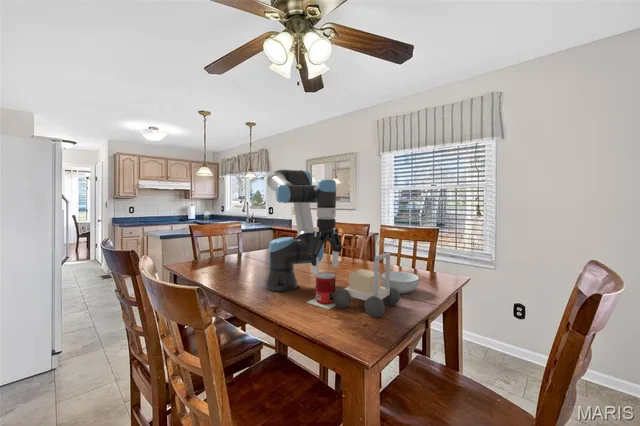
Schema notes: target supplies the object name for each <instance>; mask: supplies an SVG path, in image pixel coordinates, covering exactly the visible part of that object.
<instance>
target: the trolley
mask: <svg viewBox="0 0 640 426" xmlns="http://www.w3.org/2000/svg"><path fill="white" fill-rule="evenodd" d="M391 256H392V255H391V252H385V253H382V254H380V255H377V256H374V257H373V270H367V269H362V268H361V269H358V270H355V271H352V272H350V273H349V274H348V286H346V287H345V288H339V289H335V292H334V295H333V300H334V302H335V304H336V305H337V306H336V307H338V308H340V309H344V308H346V307H349V305H350V304H351V301H352V298H355V299H359V300H363V301H365V302H364V310H365V312H366V313H367V315H369V317H372V318H374V319H375V318H379V317H380V316H382V315H383V314H384V313H385V310H386V307H385V304H386V305H388V306H390V307H391V306H396V305H397V304H399V302H400V301H401V293H399V291H398V290H397V289H396V288H394V287H390V272H391ZM383 259H385V273H386V282H385V286H381V272H379V267H380V265H379V261H381V260H383Z"/></svg>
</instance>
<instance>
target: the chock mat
mask: <svg viewBox="0 0 640 426" xmlns="http://www.w3.org/2000/svg"><path fill="white" fill-rule="evenodd" d="M306 303H307V304H309V305H312V306H316V307H320V308H322V309H325V310H330V309H332V308H335V307H338V306H337V305H336V304H335V302H334V303H332V304H320V303H318V302H317V301H316V297H315V298H313V299H311V300H308V301H306Z"/></svg>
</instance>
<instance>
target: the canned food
mask: <svg viewBox="0 0 640 426" xmlns="http://www.w3.org/2000/svg"><path fill="white" fill-rule="evenodd" d="M335 291H336V274H335V273H332V272H327V271H326V272H325V271H324V272H319V274H315V298H316V301H317V302H318V303H320V304H332V303H334V300H333V295H334V292H335Z"/></svg>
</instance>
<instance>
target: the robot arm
mask: <svg viewBox="0 0 640 426" xmlns="http://www.w3.org/2000/svg"><path fill="white" fill-rule="evenodd" d="M267 185H268V187H269V189H271V190H272V191H274V192H275V200H276V202H278V203H283V204H288V203H289V204H291V203H292V204H293V208H294V215H295V224H296V230H297V231H296V232H297V235H296V236H295V239H294V237H293V236H292V237H291V236H287V237H286V236H284V237H278V238H275V239H273V240H271V241H270V242H269V247H268V257H269V259H268V269H269V270H268V274H267V278H266V281H265V288H266V289H267V290H269V291H273V292H288V291H293V290H294V289H296V288H298V281H297V278H296V274H295V271H294V269H295V268H294V266H295V265H300V264H303V265H305V264H311V273H312V274H314V275H316V274H319V273H320V272H319V271H320V269H319V268H320V266H319V264H320V262H321V261H322V260H323V257H324V255H325V254H324V253H325V243H326V242H329V245H330V247H331V248H332V249H333V250H332V253H331V255H332V256H331V261H332V262H331V267H334V268H339V257H340V253H339V252H342V249H343V245H342V243H341V238H340V236H339V229H338V228H336V221H337V220H336V213H337V211H336V209H337V207H336V205H337V204H336V203H337V182H336V180H334V179H319V180H318V181H317V184H316V185H313V178H312V175H311V173H310V172H309V171H307V170H303V169H302V170H301V169H300V170H297V169H277V170H275V171H273V172H271V173H270V174H269V175H268V177H267ZM311 203H312V204H316V217H317V219H316V227H317V228H318V231H315V227H314V221H313V217H312V210H311Z"/></svg>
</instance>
